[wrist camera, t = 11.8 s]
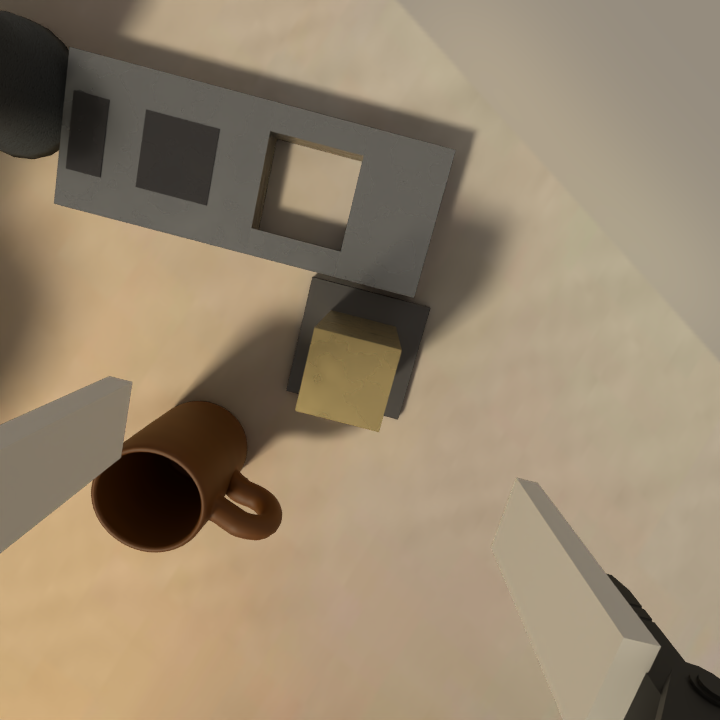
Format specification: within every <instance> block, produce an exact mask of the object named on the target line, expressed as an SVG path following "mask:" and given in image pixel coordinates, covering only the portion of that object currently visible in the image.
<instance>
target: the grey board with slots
mask: <svg viewBox="0 0 720 720" xmlns="http://www.w3.org/2000/svg"><path fill="white" fill-rule="evenodd" d="M277 139H280V140H283V141H287V142H291V143H295V144H298V145H302V146H306V147H310V148H313V149H317V150H321V151H325V152H328V153H332V154H336V155H340V156H343V157H347V158H351V159H355V160H358V161H362V165H361V169H360V173H359V177H358V181H357V186H356V190H355V194H354V198H353V202H352V206H351V211H350V215H349V219H348V223H347V227H346V231H345V236H344V240H343V244H342V248H341V252H340V251H337V250H333V249H329V248H325V247H321V246H318V245H314V244H310V243H306V242H302V241H299V240H295V239H291V238H287V237H283V236H280V235H276V234H272V233H268V232H264V231H261V230H259V226H260V221H261V216H262V211H263V206H264V201H265V196H266V191H267V186H268V181H269V176H270V171H271V166H272V160H273V155H274V150H275V145H276V140H277ZM455 151H456V150H454V149H450V148H446V147H443V146H439V145H435V144H431V143H428V142H424V141H420V140H416V139H413V138H409V137H405V136H401V135H398V134H394V133H390V132H386V131H383V130H379V129H375V128H371V127H368V126H364V125H360V124H357V123H353V122H349V121H345V120H342V119H338V118H334V117H330V116H327V115H323V114H319V113H315V112H312V111H308V110H304V109H300V108H297V107H293V106H289V105H286V104H282V103H278V102H274V101H271V100H267V99H263V98H259V97H256V96H252V95H248V94H244V93H241V92H237V91H233V90H229V89H226V88H222V87H218V86H214V85H211V84H207V83H203V82H200V81H196V80H192V79H188V78H185V77H181V76H177V75H173V74H170V73H166V72H162V71H158V70H155V69H151V68H147V67H143V66H140V65H136V64H132V63H129V62H125V61H121V60H117V59H114V58H110V57H106V56H102V55H99V54H95V53H91V52H87V51H84V50H80V49H76V48H72V47H69V57H68V68H67V78H66V88H65V98H64V108H63V118H62V128H61V138H60V148H59V158H58V169H57V179H56V189H55V199H54V204H57V205H61V206H65V207H69V208H73V209H76V210H80V211H84V212H88V213H92V214H96V215H99V216H103V217H107V218H111V219H115V220H118V221H122V222H126V223H130V224H134V225H138V226H141V227H145V228H149V229H153V230H157V231H160V232H164V233H168V234H172V235H176V236H180V237H183V238H187V239H191V240H195V241H199V242H202V243H206V244H210V245H214V246H218V247H222V248H225V249H229V250H233V251H237V252H241V253H244V254H248V255H252V256H256V257H260V258H264V259H267V260H271V261H275V262H279V263H283V264H286V265H290V266H294V267H298V268H302V269H306V270H309V271H313V272H317V273H321V274H325V275H328V276H332V277H336V278H340V279H344V280H348V281H351V282H355V283H359V284H363V285H367V286H370V287H374V288H378V289H382V290H386V291H390V292H393V293H397V294H401V295H405V296H409V297H412V298H414V296H415V293H416V289H417V286H418V282H419V279H420V275H421V272H422V268H423V264H424V261H425V257H426V254H427V250H428V247H429V243H430V240H431V236H432V233H433V229H434V225H435V222H436V218H437V215H438V211H439V208H440V204H441V201H442V197H443V193H444V190H445V186H446V183H447V179H448V176H449V172H450V169H451V165H452V161H453V158H454V154H455Z"/></svg>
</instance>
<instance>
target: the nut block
mask: <svg viewBox="0 0 720 720" xmlns="http://www.w3.org/2000/svg"><path fill="white" fill-rule="evenodd" d="M401 351H402V349H401V345H400V341H399V337H398V333H397V329H396V327H395V326H391V325H387V324H383V323H379V322H375V321H372V320H368V319H364V318H360V317H356V316H352V315H348V314H344V313H341V312H337V311H333V310H331V311H330V312H329V313H328V314H327V315H326V316H325V317H324V318H323V319H322V320H321V321H320V322H319V323H318V324H317V325H316V326H315V328H314V332H313V336H312V340H311V344H310V349H309V353H308V357H307V362H306V366H305V370H304V374H303V379H302V383H301V387H300V392H299V396H298V400H297V404H296V409H295V411H298V412H302V413H306V414H310V415H314V416H318V417H322V418H325V419H329V420H333V421H337V422H341V423H345V424H349V425H353V426H357V427H361V428H365V429H369V430H373V431H377V432H379V430H380V426H381V423H382V419H383V415H384V412H385V408H386V405H387V401H388V398H389V394H390V390H391V387H392V383H393V380H394V376H395V373H396V369H397V366H398V362H399V358H400V355H401Z"/></svg>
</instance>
